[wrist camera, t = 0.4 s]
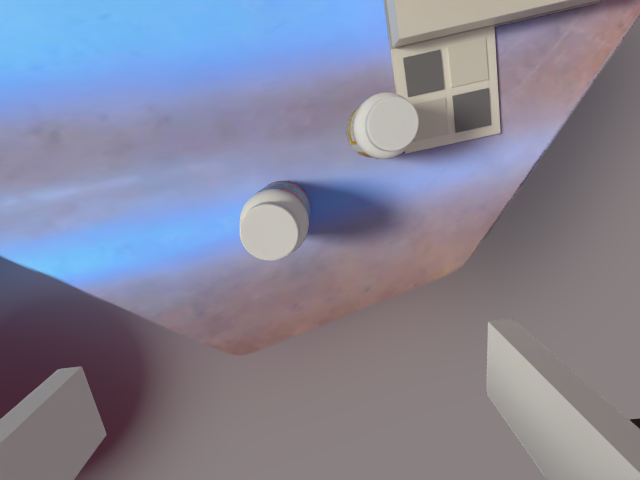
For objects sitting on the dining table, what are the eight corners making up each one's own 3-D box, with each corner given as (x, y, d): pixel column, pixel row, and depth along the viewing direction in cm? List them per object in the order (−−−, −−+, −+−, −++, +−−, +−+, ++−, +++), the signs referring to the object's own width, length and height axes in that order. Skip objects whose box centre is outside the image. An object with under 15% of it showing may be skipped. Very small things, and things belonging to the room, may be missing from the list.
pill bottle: (320, 196, 36) (322, 217, 25) (294, 243, 38) (286, 282, 27) (270, 169, 35) (251, 179, 24) (246, 219, 37) (217, 248, 26)
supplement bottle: (408, 133, 35) (442, 127, 25) (368, 167, 35) (387, 175, 26) (376, 91, 33) (400, 69, 24) (335, 127, 34) (343, 120, 25)
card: (390, 50, 32) (391, 48, 32) (492, 27, 32) (495, 25, 31) (404, 153, 35) (405, 153, 34) (498, 133, 35) (501, 132, 34)
